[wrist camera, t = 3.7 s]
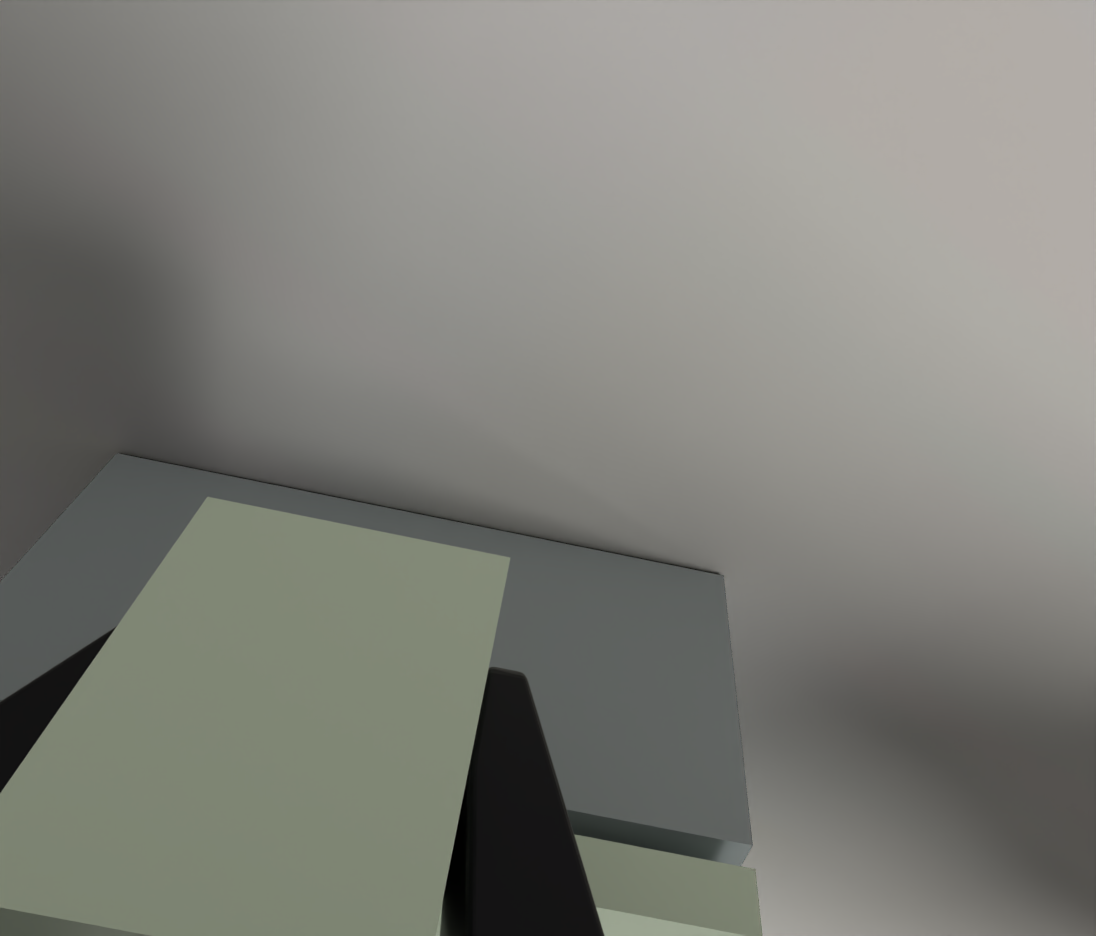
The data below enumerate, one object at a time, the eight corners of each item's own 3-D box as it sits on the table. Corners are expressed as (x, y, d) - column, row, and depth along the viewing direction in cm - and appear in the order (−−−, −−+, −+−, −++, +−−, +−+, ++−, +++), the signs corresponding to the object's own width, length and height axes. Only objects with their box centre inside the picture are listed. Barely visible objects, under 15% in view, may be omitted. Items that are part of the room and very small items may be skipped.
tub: (116, 453, 14) (-91, 682, 10) (723, 575, 14) (753, 845, 10) (179, 942, 23) (83, 1162, 19) (548, 1011, 23) (528, 1242, 19)
